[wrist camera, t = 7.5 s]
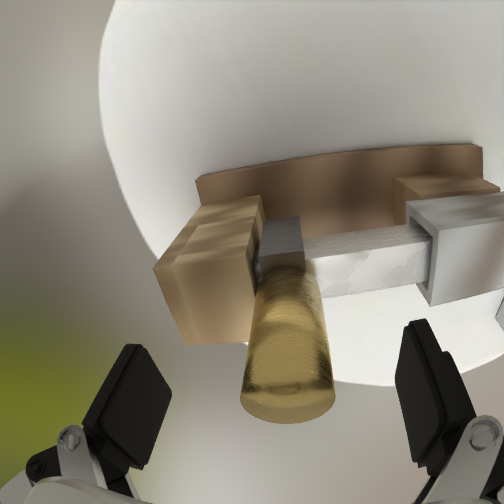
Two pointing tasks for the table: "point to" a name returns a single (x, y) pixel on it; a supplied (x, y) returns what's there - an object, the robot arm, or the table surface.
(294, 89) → the table surface
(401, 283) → the brass knob sliding bolt
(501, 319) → the tea box
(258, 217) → the socket block
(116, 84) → the table surface
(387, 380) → the table surface
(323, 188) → the base
